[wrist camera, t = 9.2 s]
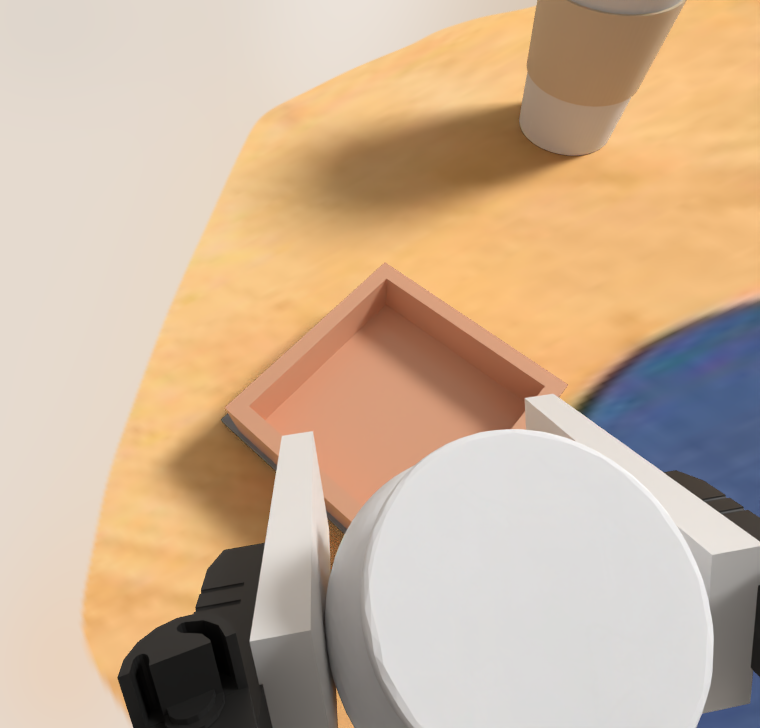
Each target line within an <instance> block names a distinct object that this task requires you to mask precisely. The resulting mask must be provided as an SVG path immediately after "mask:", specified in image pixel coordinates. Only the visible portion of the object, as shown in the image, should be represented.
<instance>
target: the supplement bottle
mask: <svg viewBox="0 0 760 728" xmlns="http://www.w3.org/2000/svg"><path fill="white" fill-rule="evenodd" d="M325 633H326V645H327V651H328V657H329V663H330V668H331V672H332V676H333V679H334V682H335V685H336V688H337V691H338V693H339V696H340V698H341V701H342V703H343V706H344V708H345V711H346V713H347V715H348V717H349V718H350V720H351V722H352V724H353V726H354V728H696V726H697V724H698V722H699V719H700V717H701V715H702V712H703V709H704V706H705V703H706V699H707V696H708V692H709V689H710V685H711V678H712V672H713V644H714V633H713V624H712V618H711V612H710V606H709V600H708V596H707V592H706V589H705V586H704V582H703V579H702V576H701V574H700V571H699V568H698V566H697V563H696V561H695V559H694V557H693V555H692V552H691V550H690V548H689V546H688V544H687V542H686V541H685V539H684V537H683V535H682V534H681V532H680V530H679V529H678V527H677V526H676V524H675V523H674V521H673V520H672V518H671V517H670V515H669V514H668V512H667V511H666V510H665V509H664V507H663V506H662V505H661V504H660V502H659V501H658V500H657V499H656V498H655V497H654V496H653V495H652V494H651V493H650V491H649V490H648V489H647V488H646V487H645V486H644V485H642V484H641V483H640V482H639V481H638V480H637V479H636V478H635V477H634V476H633V475H632V474H630V473H629V472H627V471H626V470H625V469H623V468H622V467H621V466H619V465H618V464H616V463H615V462H614V461H612V460H611V459H609V458H607V457H606V456H604V455H602V454H601V453H599V452H597V451H595V450H593V449H591V448H589V447H587V446H585V445H583V444H581V443H578V442H576V441H573V440H571V439H568V438H565V437H562V436H558V435H554V434H550V433H546V432H541V431H533V430H525V429H505V430H493V431H485V432H479V433H476V434H473V435H469V436H466V437H463V438H459V439H457V440H455V441H452V442H450V443H448V444H446V445H444V446H442V447H440V448H439V449H437V450H435V451H433V452H432V453H430V454H429V455H427V456H426V457H425V458H423V459H422V460H421V461H419V462H418V463H417V464H416V465H414V466H412V467H410V468H408V469H406V470H405V471H403V472H401V473H400V474H398V475H396V476H395V477H393V478H392V479H391V480H389V481H388V482H387V483H385V484H384V485H383V486H382V487H381V488H380V489H378V490H377V491H376V492H375V493H374V494H373V495H372V496H371V497H370V498H369V500H368V501H367V502H366V503H365V504H364V505H363V507H362V508H361V509H360V511H359V512H358V513H357V515H356V516H355V518H354V519H353V521H352V522H351V524H350V526H349V527H348V529H347V531H346V533H345V535H344V536H343V539H342V541H341V543H340V545H339V548H338V551H337V554H336V556H335V559H334V563H333V566H332V570H331V574H330V577H329V582H328V588H327V595H326V605H325Z"/></svg>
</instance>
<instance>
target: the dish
mask: <svg viewBox="0 0 760 728" xmlns="http://www.w3.org/2000/svg"><path fill="white" fill-rule="evenodd" d="M567 386H568V384H566V383H565V382H563V381H562V380H560V379H559V378H557V377H556V376H554V375H553V374H551V373H550V372H548V371H547V370H545V369H544V368H542V367H541V366H539V365H538V364H536V363H535V362H533V361H532V360H530V359H529V358H527V357H526V356H524V355H523V354H521V353H520V352H518V351H517V350H515V349H514V348H512V347H511V346H509V345H508V344H506V343H505V342H503V341H502V340H500V339H499V338H497V337H496V336H495V335H493V334H492V333H490V332H489V331H487V330H486V329H484V328H483V327H481V326H480V325H478V324H477V323H475V322H474V321H472V320H471V319H469V318H468V317H466V316H465V315H463V314H462V313H460V312H459V311H457V310H456V309H454V308H453V307H451V306H450V305H448V304H447V303H445V302H444V301H442V300H441V299H439V298H438V297H436V296H435V295H433V294H432V293H430V292H429V291H427V290H426V289H424V288H423V287H421V286H420V285H418V284H417V283H415V282H414V281H412V280H411V279H409V278H408V277H406V276H405V275H403V274H402V273H400V272H399V271H397V270H396V269H394V268H393V267H391V266H390V265H388V264H387V263H384V264H382V265H381V266H380V267H379V268H378V269H377V270H376V271H375V272H374V273H372V274H371V275H370V276H369V277H368V278H367V279H366V280H365V281H364V282H363V283H361V284H360V285H359V286H358V287H357V288H356V289H355V290H354V291H353V292H352V293H350V294H349V295H348V296H347V297H346V298H345V299H344V300H343V301H342V302H341V303H339V304H338V305H337V306H336V307H335V308H334V309H333V310H332V311H331V312H329V313H328V314H327V315H326V316H325V317H324V318H323V319H322V320H321V321H320V322H318V323H317V324H316V325H315V326H314V327H313V328H312V329H311V330H310V331H309V332H307V333H306V334H305V335H304V336H303V337H302V338H301V339H300V340H299V341H298V342H296V343H295V344H294V345H293V346H292V347H291V348H290V349H289V350H288V351H286V352H285V353H284V354H283V355H282V356H281V357H280V358H279V359H278V360H277V361H275V362H274V363H273V364H272V365H271V366H270V367H269V368H268V369H267V370H266V371H264V372H263V373H262V374H261V375H260V376H259V377H258V378H257V379H256V380H255V381H253V382H252V383H251V384H250V385H249V386H248V387H247V388H246V389H245V390H243V391H242V392H241V393H240V394H239V395H238V396H237V397H236V398H235V399H234V400H232V401H231V402H230V403H229V404H228V405H227V406H226V407H225V409H226V411H227V412H228V414H229V416H230V417H231V419H232V420H233V422H234V424H235V425H236V427H237V428H238V430H239V431H240V432H241V433H242V434H243V435H244V436H245V437H246V438H247V439H248V440H250V441H251V442H252V443H253V444H254V445H255V446H256V447H257V448H258V449H259V450H261V451H262V452H263V453H264V454H265V455H266V456H267V457H268V458H269V459H270V460H272V461H273V462H274V463H275V464H276V465H277V464H278V458H279V451H280V445H281V439H282V436H284V435H291V434H297V433H304V432H310V431H313V435H314V441H315V447H316V453H317V459H318V465H319V471H320V477H321V483H322V489H323V495H324V501H325V507H326V510H327V511H328V512H329V513H330V514H331V515H332V516H333V517H334V518H335V519H336V520H338V521H339V522H340V523H341V524H342V525H343V526H344V527H345V528H346V529H348V527H349V526H350V524H351V522H352V521H353V519H354V518H355V516H356V515H357V513H358V512H359V511H360V509H361V508H362V507H363V505H364V504H365V503H366V502H367V501H368V500H369V498H370V497H371V496H372V495H373V494H374V493H375V492H376V491H377V490H378V489H380V488H381V487H382V486H383V485H384V484H385V483H387V482H388V481H389V480H391V479H392V478H393V477H395V476H396V475H398V474H400V473H401V472H403V471H405V470H406V469H408V468H410V467H412V466H414V465H416V464H417V463H418V462H419V461H421V460H422V459H423V458H425V457H426V456H427V455H429V454H430V453H432V452H433V451H435V450H437V449H439V448H440V447H442V446H444V445H446V444H448V443H450V442H452V441H455V440H457V439H459V438H463V437H466V436H469V435H473V434H476V433H479V432H485V431H493V430H505V429H525V430H526V419H525V398H528V397H535V396H541V395H547V394H554V395H556V396H557V397H560V396H561V394H562V393H563V391H564V390H565V389H566V387H567Z"/></svg>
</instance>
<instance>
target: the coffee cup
mask: <svg viewBox="0 0 760 728" xmlns="http://www.w3.org/2000/svg"><path fill="white" fill-rule="evenodd" d="M685 2H686V0H537V6H536V12H535V18H534V24H533V30H532V36H531V42H530V48H529V54H528V60H527V71H528V72H527V77H526V83H525V89H524V94H523V100H522V106H521V112H520V117H519V124H520V127H521V130H522V132H523V133H524V135H525V136H526V137H527V138H528V139H529V140H530V141H531V142H533V143H534V144H535V145H537V146H539V147H540V148H543V149H545V150H547V151H550V152H553V153H557V154H562V155H572V156H576V155H585V154H589V153H592V152H595V151H597V150H599V149H600V148H602V147H603V146H604V145H605V144H606V143H607V141H608V140H609V138H610V136H611V134H612V132H613V130H614V128H615V127H616V125H617V123H618V121H619V119H620V117H621V115H622V114H623V112H624V110H625V108H626V106H627V104H628V102H629V100H630V99H631V97H632V96H633V95H634V94H635V93H636V92H637V90H638V89H639V87H640V85H641V83H642V81H643V79H644V77H645V76H646V74H647V72H648V70H649V68H650V66H651V65H652V63H653V61H654V59H655V57H656V55H657V54H658V52H659V50H660V48H661V46H662V44H663V43H664V41H665V39H666V37H667V35H668V33H669V31H670V30H671V28H672V26H673V24H674V22H675V20H676V19H677V17H678V15H679V13H680V11H681V9H682V8H683V6H684V4H685Z"/></svg>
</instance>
